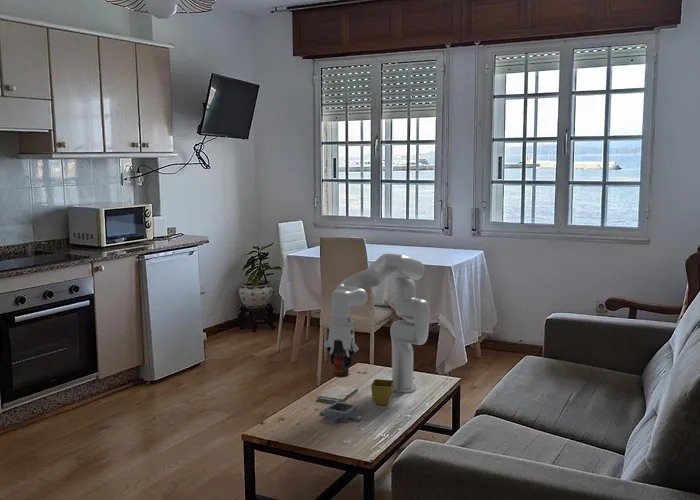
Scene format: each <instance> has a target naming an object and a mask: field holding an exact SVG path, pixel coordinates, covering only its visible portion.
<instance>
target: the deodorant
mask: <svg viewBox="0 0 700 500" xmlns="http://www.w3.org/2000/svg"><path fill="white" fill-rule="evenodd" d="M346 357H347V354H346V351H345V350H344V349H343V343H342V341H339V340H334V364H333V377H336V378H339V379H340V378H341V379H342V378H347V377H349V373H350V371H349V367H350V366H348V367H346Z"/></svg>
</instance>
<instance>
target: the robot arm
mask: <svg viewBox="0 0 700 500" xmlns="http://www.w3.org/2000/svg"><path fill="white" fill-rule="evenodd" d="M424 274H425V266H424V263H423V262H421V261H420V260H417V259H415V258H413V257H410V256H407V255H404V254H395V253H384V254H382V255H380V256H379V257H378V258H377V259H375V261H374V262H373V263H372V264H371V265H369V267H367V268H366V269H365V270H362V271H359V272H356V273H353V274H352V275H349V276H347V277H346V278H344V279H343V280H342V281H341V282H340V283H339V284H338V285H337V286H336V287H335V290H333V291H332V292H331V323H329V324H330V325H329V330H328V339H327V340H326V341H325V342H324V343H323V345H324V347H325V348H326V350H327V351H328V352H329V355H330V361H331V365H334V340H339V341H342V343H343V349H344V350H345V351H346V354H347V357H346V367H348V366H349V367H350V366H352V361H353V360H352V359H353V358H352V357H353V355H354V354H355V353H356V352H357V351H359V347H358V345H357V344H356V343H355V340H356V339H355V330H354V325H353V323H354V319H352V316H351V315H352V314H351V313H352V312H351V310H352V309H351V308H353V307H362V306H364V305H365V304H366V303H367V301H368V299H369V298H368V297H369V296H368V292H367V291H366V290H365V289H370V288H375V287H378V286H380V285H381V284H382V283H383V282H384V281H386V279H387V278H388V277H390V275H391V276H392V278H393V279H394V281H395V283H396V298H395V314H396V315H397V316H398V317H400V318H405V319H410V320H414V322H413V321H410V320H409V321H408V320H402V319H401V320H398V319H397V320H395V321H394V322H393V323H392V324H391V325H390V329H389V332H390V333H389V334H390V339H391V347H392V352H391V353H392V354H391V355H392V356H391V357H392V358H391V361H392V363H391V368H392V369H391V372H392V373H391V380H393V381H394V385H393V392H395V393H398V394H399V393H401V394H402V393H403V394H406V393H408V394H409V393H412V392H415V391H416V390H417V385H416V384H415V383H414V380H415V378H416V376H415V375H414V349H413V345H417V346H423V345H424V344H425V343H426V342H427V341H428V336H429V329H430V317H431V308H430V304H429V302H428V301H427V300H426V299H424V298H417V295H416V294H417V291H416V289H417V287H416V282H415V281H417V280H420V279H422V278H423V276H424ZM351 323H352V324H351Z"/></svg>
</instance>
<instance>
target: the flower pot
mask: <svg viewBox="0 0 700 500" xmlns="http://www.w3.org/2000/svg"><path fill="white" fill-rule="evenodd" d="M393 385H394V381H393V380H392V379H380V378H379V379H377V378H375V379H373V382H372V383H371V386H370V389H371V397H372V400H373V402H374V404H375V405H381V406H388V405H389V403H390V401H391V398H392V396H393V392H394V391H393Z"/></svg>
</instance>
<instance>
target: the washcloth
mask: <svg viewBox="0 0 700 500" xmlns="http://www.w3.org/2000/svg"><path fill="white" fill-rule="evenodd" d="M358 392H359V388H357V387H351V386H350V387H348V386H343V385H334V386H332V387H331V388H329V389H328V388H327V390H325V391H324V392H322V393H320V394H318V396H317V398H318V399H317V401H320V402H323V403H329V404H333V403H335V402H336V401H337V402H343V403H346V402H347V401H348V400H349V399H350V398H352V397H354V396H355V395H356V394H358Z"/></svg>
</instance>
